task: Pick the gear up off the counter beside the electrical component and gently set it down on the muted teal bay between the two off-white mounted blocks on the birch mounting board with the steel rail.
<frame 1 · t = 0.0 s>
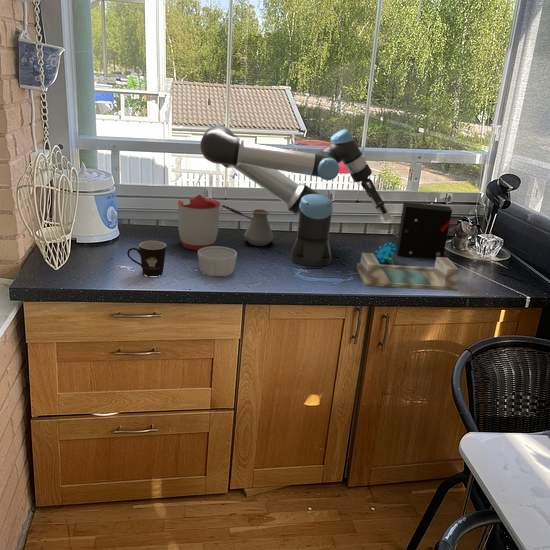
hand: (384, 215, 220), 15 cm above the worktop, tool tilted 35°, fingers open, 13 cm apart
coffee pot: (246, 243, 224), on the worktop
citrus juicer: (196, 246, 217), on the worktop
electrical component: (418, 255, 227), on the worktop
ramekin: (216, 272, 193), on the worktop
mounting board: (405, 279, 200), on the worktop
gear: (383, 263, 214), on the worktop
coffee mug: (148, 273, 187), on the worktop
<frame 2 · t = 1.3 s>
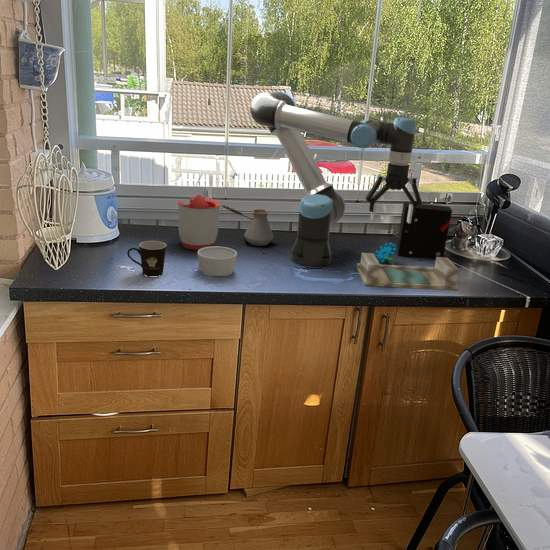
hand: (390, 221, 208), 16 cm above the worktop, tool pointing down, fingers open, 13 cm apart
nothing on the worktop moved.
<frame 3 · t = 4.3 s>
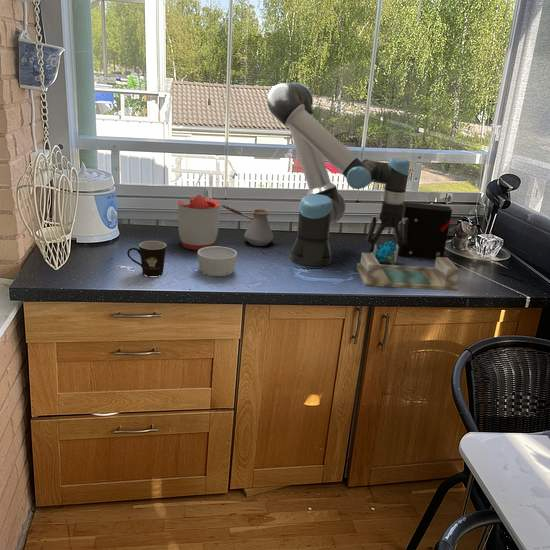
hand: (383, 260, 214), 1 cm above the worktop, tool pointing down, fingers closed on gear, 8 cm apart
gear: (383, 262, 214), on the worktop, touching gripper
everything else where it was.
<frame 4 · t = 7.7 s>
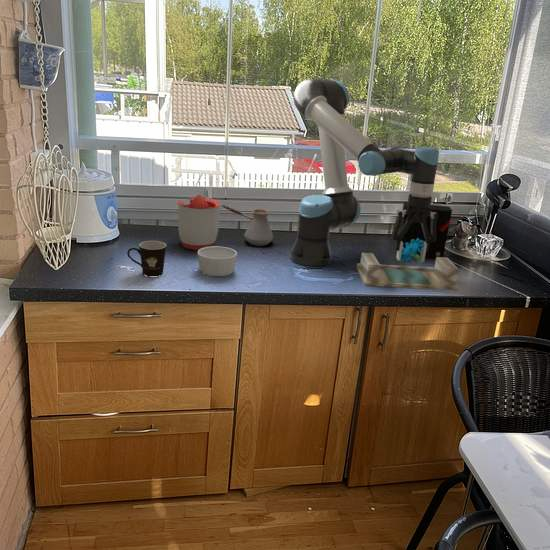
hand: (410, 259, 196), 8 cm above the worktop, tool pointing down, fingers closed on gear, 8 cm apart
gear: (410, 261, 196), point 7 cm above the worktop, touching gripper
everything else where it was.
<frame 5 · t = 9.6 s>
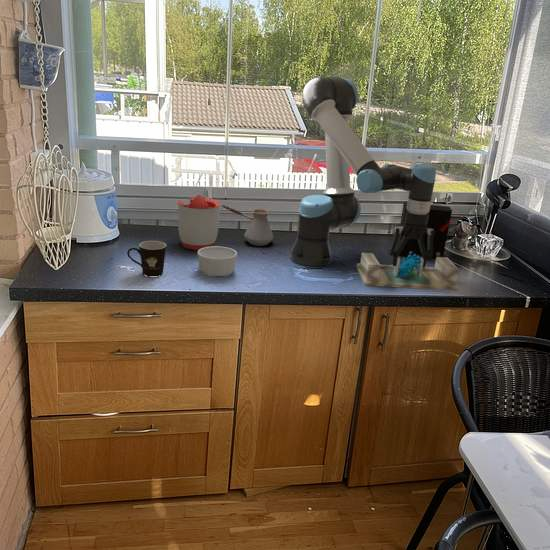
hand: (406, 275, 198), 2 cm above the worktop, tool pointing down, fingers closed on gear, 8 cm apart
gear: (407, 276, 198), point 1 cm above the worktop, touching gripper
everything else where it was.
when the fingers open (2 cm above the worktop, at t = 10.8 s): gear stays where it is, resting on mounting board.
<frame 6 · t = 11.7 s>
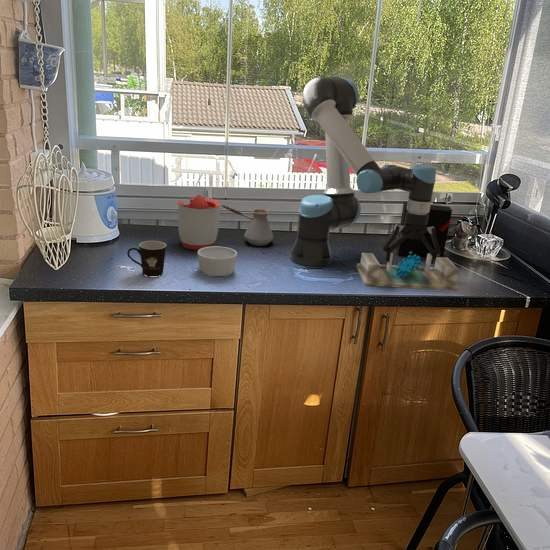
hand: (407, 271, 197), 3 cm above the worktop, tool pointing down, fingers open, 13 cm apart
gear: (406, 277, 198), point 1 cm above the worktop, touching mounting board
everything else where it was.
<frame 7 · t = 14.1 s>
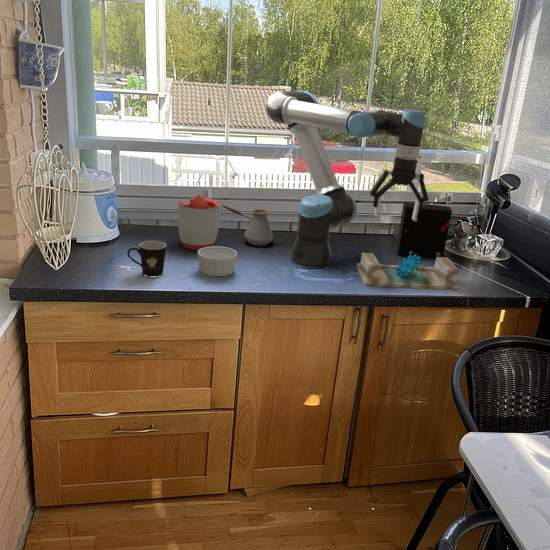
hand: (394, 217, 199), 20 cm above the worktop, tool pointing down, fingers open, 13 cm apart
nothing on the worktop moved.
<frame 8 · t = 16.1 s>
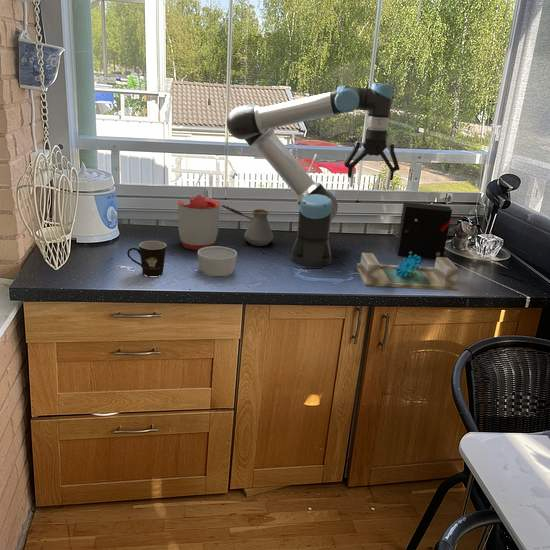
hand: (368, 187, 210), 27 cm above the worktop, tool pointing down, fingers open, 13 cm apart
nothing on the worktop moved.
at the end: gear inside the target area on the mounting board (0.6 cm from its centre), point 1.2 cm above the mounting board's base; gear moved 17.6 cm from its start; the gripper is holding nothing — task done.
